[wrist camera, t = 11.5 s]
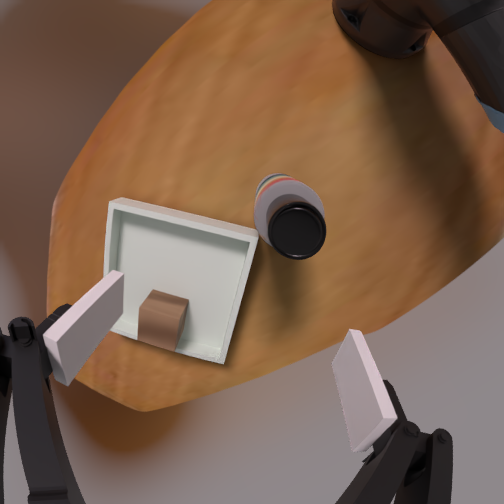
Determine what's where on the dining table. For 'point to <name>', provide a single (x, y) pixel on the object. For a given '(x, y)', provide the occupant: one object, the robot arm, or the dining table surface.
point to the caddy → (180, 270)
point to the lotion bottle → (289, 216)
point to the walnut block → (162, 319)
